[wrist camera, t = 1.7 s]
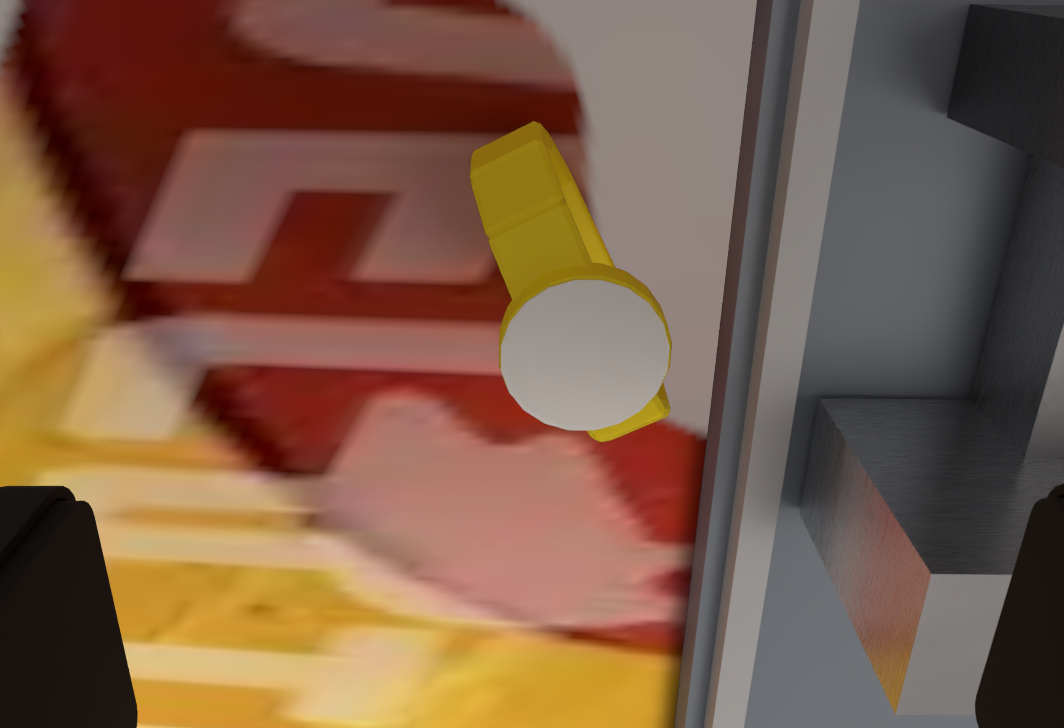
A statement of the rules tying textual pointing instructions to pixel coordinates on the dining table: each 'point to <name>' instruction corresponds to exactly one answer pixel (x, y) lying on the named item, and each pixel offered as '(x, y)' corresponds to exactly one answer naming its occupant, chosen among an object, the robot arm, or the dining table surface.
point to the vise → (832, 332)
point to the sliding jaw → (959, 414)
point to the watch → (566, 297)
